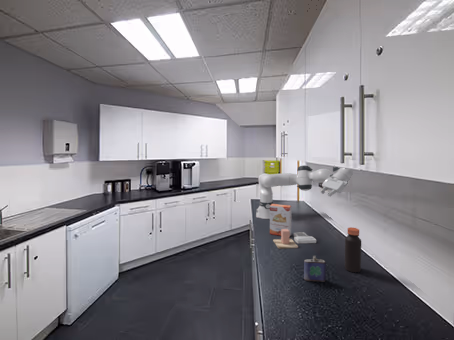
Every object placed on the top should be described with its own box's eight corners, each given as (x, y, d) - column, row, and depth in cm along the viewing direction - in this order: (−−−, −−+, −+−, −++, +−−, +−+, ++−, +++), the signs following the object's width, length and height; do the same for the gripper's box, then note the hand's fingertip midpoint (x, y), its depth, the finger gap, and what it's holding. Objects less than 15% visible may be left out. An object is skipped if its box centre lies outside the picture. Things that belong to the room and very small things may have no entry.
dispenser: (290, 235, 151) (290, 232, 151) (307, 235, 152) (307, 231, 151) (297, 243, 137) (297, 240, 137) (316, 242, 138) (316, 239, 138)
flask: (304, 281, 97) (304, 257, 96) (303, 277, 100) (303, 254, 99) (326, 282, 96) (326, 258, 95) (324, 278, 99) (324, 255, 98)
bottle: (353, 265, 110) (354, 226, 108) (364, 272, 103) (365, 231, 102) (341, 266, 109) (342, 227, 108) (351, 273, 102) (351, 232, 101)
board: (273, 240, 143) (273, 239, 142) (291, 240, 143) (291, 238, 143) (278, 248, 131) (278, 247, 131) (298, 247, 131) (298, 246, 131)
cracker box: (269, 234, 154) (269, 205, 153) (271, 231, 159) (271, 203, 158) (289, 237, 148) (289, 207, 146) (291, 234, 153) (291, 205, 151)
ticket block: (281, 241, 139) (281, 229, 138) (287, 241, 139) (287, 229, 138) (283, 244, 135) (283, 231, 134) (289, 243, 135) (289, 231, 134)
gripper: (352, 184, 134) (337, 200, 134) (334, 180, 154) (321, 194, 154) (345, 177, 133) (330, 193, 133) (328, 174, 154) (315, 188, 154)
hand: (325, 194), depth 144 cm, fingers open, 8 cm apart
